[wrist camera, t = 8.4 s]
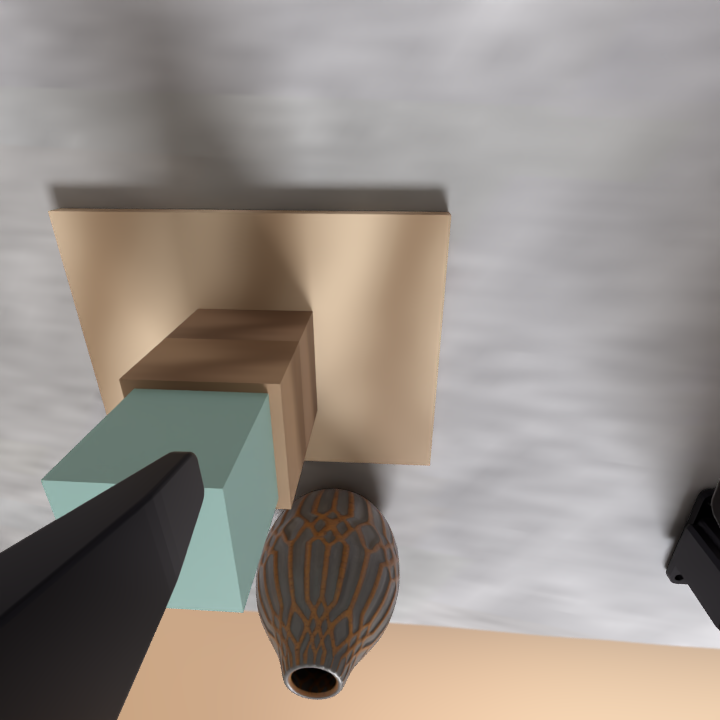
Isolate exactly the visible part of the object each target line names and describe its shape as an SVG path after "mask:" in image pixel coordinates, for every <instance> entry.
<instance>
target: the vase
mask: <svg viewBox="0 0 720 720" xmlns="http://www.w3.org/2000/svg"><path fill="white" fill-rule="evenodd" d="M399 575H400V573H399V558H398V550H397V546H396V542H395V539H394V536H393V533H392V531H391V529H390V526H389V524H388V523H387V521H386V519H385V518H384V516H383V514H382V513H381V512H380V511H379V510H378V509H377V508H376V507H375V506H374V505H373V504H372V503H371V502H370V501H368V500H367V499H365V498H364V497H362V496H360V495H358V494H356V493H353V492H350V491H347V490H342V489H322V490H317V491H314V492H311V493H308V494H306V495H304V496H302V497H300V498H298V499H297V500H295V501H294V502H293V504H292V508H291V509H285V510H284V511H283V512H282V514H281V515H280V516H279V517H278V519H277V520H276V521H275V523H274V525H273V526H272V528H271V529H270V531H269V533H268V536H267V538H266V541H265V544H264V547H263V550H262V554H261V557H260V560H259V563H258V568H257V575H256V598H257V606H258V612H259V616H260V619H261V622H262V624H263V627H264V629H265V631H266V633H267V635H268V638H269V640H270V641H271V644H272V645H273V647H274V649H275V651H276V653H277V655H278V658H279V661H280V665H281V670H282V676H283V680H284V683H285V685H286V687H287V688H288V689H289V690H290V691H292V692H293V693H295V694H296V695H298V696H301V697H304V698H308V699H317V700H318V699H327V698H330V697H333V696H335V695H337V694H338V693H339V692H340V691H341V690H342V688H343V687H344V685H345V683H346V681H347V679H348V676H349V675H350V673H351V671H352V670H353V668H354V667H355V666H356V665H357V664H358V662H359V661H360V660H361V659H362V658H363V657H364V656H365V655H366V654H367V653H368V652H369V651H370V650H371V649H372V647H373V646H374V645H375V644H376V643H377V642H378V640H379V639H380V638H381V636H382V635H383V633H384V631H385V630H386V628H387V626H388V624H389V621H390V619H391V616H392V613H393V610H394V607H395V604H396V600H397V595H398V589H399Z"/></svg>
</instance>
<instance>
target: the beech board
mask: <svg viewBox="0 0 720 720" xmlns="http://www.w3.org/2000/svg"><path fill="white" fill-rule="evenodd" d="M48 213H49V216H50V220H51V223H52V227H53V230H54V234H55V237H56V240H57V244H58V247H59V251H60V254H61V258H62V261H63V265H64V268H65V272H66V275H67V279H68V282H69V286H70V289H71V292H72V296H73V299H74V303H75V306H76V310H77V313H78V317H79V320H80V324H81V327H82V331H83V334H84V338H85V341H86V344H87V348H88V351H89V355H90V358H91V362H92V365H93V369H94V372H95V376H96V379H97V383H98V386H99V390H100V393H101V396H102V400H103V403H104V407H105V410H106V414H107V415H108V414H109V413H110V412H111V411H112V410H113V409H114V408H115V407H116V406H117V405H118V404H119V403H120V402H121V401H122V400H123V399H124V396H123V393H122V389H121V385H120V381H119V379H120V378H121V377H122V376H123V375H124V374H125V373H126V372H128V371H129V370H130V369H131V368H132V367H133V366H134V365H135V364H137V363H138V362H139V361H140V360H141V359H142V358H143V357H144V356H146V355H147V354H148V353H149V352H150V351H151V350H152V349H153V348H154V347H156V346H157V345H158V344H159V343H160V342H161V341H162V340H163V339H165V338H166V337H167V336H168V335H169V334H170V333H171V332H172V331H174V330H175V329H176V328H177V327H178V326H179V325H180V324H181V323H183V322H184V321H185V320H186V319H187V318H188V317H189V316H190V315H191V314H193V313H194V312H195V311H196V310H197V309H237V310H283V311H313V327H314V347H315V368H316V389H317V410H318V411H317V414H316V418H315V422H314V426H313V429H312V433H311V437H310V441H309V444H308V448H307V452H306V456H305V459H304V461H327V462H352V463H378V464H403V465H429V466H430V457H431V446H432V434H433V422H434V410H435V399H436V387H437V375H438V364H439V352H440V340H441V328H442V317H443V305H444V293H445V281H446V270H447V258H448V246H449V234H450V223H451V214H450V213H449V212H398V211H292V210H185V209H79V208H60V209H56V210H51V211H48Z"/></svg>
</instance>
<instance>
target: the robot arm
mask: <svg viewBox="0 0 720 720" xmlns="http://www.w3.org/2000/svg"><path fill="white" fill-rule="evenodd" d="M203 500H204V485H203V480H202V476H201V471H200V467H199V463H198V459H197V456H196V455H195V454H194V453H193V452H184V451H173V452H170V453H168V454H166V455H164V456H163V457H161V458H159V459H158V460H156V461H154V462H152V463H151V464H149V465H147V466H146V467H144V468H142V469H141V470H139V471H137V472H136V473H134V474H132V475H131V476H129V477H127V478H126V479H124V480H122V481H120V482H119V483H117V484H115V485H114V486H112V487H110V488H109V489H107V490H105V491H104V492H102V493H100V494H99V495H97V496H95V497H94V498H92V499H90V500H88V501H87V502H85V503H83V504H82V505H80V506H78V507H77V508H75V509H73V510H72V511H70V512H68V513H67V514H65V515H63V516H62V517H60V518H58V519H56V520H55V521H53V522H51V523H50V524H48V525H46V526H45V527H43V528H41V529H40V530H38V531H36V532H35V533H33V534H31V535H29V536H28V537H26V538H24V539H23V540H21V541H19V542H18V543H16V544H14V545H13V546H11V547H9V548H8V549H6V550H4V551H3V552H1V553H0V720H117V719H118V716H119V714H120V712H121V709H122V707H123V705H124V703H125V700H126V698H127V696H128V693H129V691H130V689H131V686H132V684H133V682H134V680H135V677H136V675H137V673H138V671H139V668H140V666H141V664H142V661H143V659H144V657H145V655H146V652H147V650H148V648H149V646H150V643H151V641H152V638H153V636H154V634H155V632H156V630H157V627H158V625H159V623H160V620H161V618H162V616H163V614H164V611H165V609H166V607H167V604H168V602H169V600H170V598H171V595H172V593H173V590H174V588H175V586H176V583H177V581H178V578H179V575H180V572H181V569H182V566H183V563H184V560H185V557H186V554H187V550H188V547H189V544H190V541H191V538H192V535H193V532H194V528H195V525H196V522H197V519H198V516H199V513H200V510H201V506H202V503H203ZM666 574H667V576H668V578H669V579H670V581H671V582H672V583H676V584H688V585H689V587H690V588H691V590H692V591H693V593H694V594H695V596H696V597H697V599H698V600H699V602H700V603H701V605H702V606H703V608H704V609H705V611H706V612H707V614H708V615H709V617H710V618H711V620H712V621H713V623H714V624H715V626H716V627H717V628H718V629H719V630H720V479H719V482H718V484H717V487H716V489H707V490H704V491H702V492H701V493H700V494H699V495H698V497H697V500H696V502H695V505H694V507H693V509H692V512H691V514H690V516H689V519H688V521H687V523H686V526H685V528H684V530H683V533H682V535H681V537H680V540H679V542H678V544H677V547H676V549H675V551H674V554H673V556H672V558H671V561H670V563H669V566H668V568H667V570H666Z"/></svg>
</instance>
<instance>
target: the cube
mask: <svg viewBox="0 0 720 720" xmlns="http://www.w3.org/2000/svg"><path fill="white" fill-rule="evenodd" d="M173 451H184V452H193V453H194V454H195V455H196V456H197V459H198V463H199V467H200V471H201V476H202V480H203V485H204V500H203V503H202V506H201V510H200V513H199V516H198V519H197V522H196V525H195V528H194V532H193V535H192V538H191V541H190V544H189V547H188V550H187V554H186V557H185V560H184V563H183V566H182V569H181V572H180V575H179V578H178V581H177V583H176V586H175V588H174V590H173V593H172V595H171V598H170V600H169V602H168V604H167V607H166V608H176V609H177V608H178V609H194V610H209V611H225V612H241V613H243V612H244V608H245V605H246V602H247V599H248V596H249V592H250V589H251V586H252V583H253V579H254V576H255V573H256V570H257V567H258V563H259V560H260V557H261V554H262V550H263V547H264V544H265V541H266V537H267V534H268V531H269V528H270V525H271V521H272V518H273V515H274V512H275V508H276V505H277V502H278V499H279V498H278V488H277V478H276V467H275V457H274V446H273V436H272V426H271V415H270V405H269V394H268V393H246V392H218V391H189V390H161V389H133V390H132V391H131V392H130V393H129V394H128V395H127V396H126V397H125V398H124V399H123V400H122V401H121V402H120V403H119V404H118V405H117V406H116V407H115V408H114V409H113V410H112V411H111V412H110V413H109V414H108V415H107V416H106V417H105V418H104V419H103V420H102V421H101V422H100V423H99V424H98V425H97V426H96V427H95V428H94V429H93V430H92V431H90V432H89V433H88V434H87V435H86V436H85V437H84V438H83V439H82V440H81V441H80V442H79V443H78V444H77V445H76V446H75V447H74V448H73V449H72V450H71V451H70V452H69V453H68V454H67V455H66V456H65V457H64V458H63V459H62V460H61V461H60V462H59V463H58V464H57V465H56V466H55V467H54V468H53V469H52V470H51V471H50V472H49V473H48V474H47V475H46V476H45V477H44V478H43V479H42V480H41V482H42V485H43V487H44V490H45V492H46V495H47V498H48V500H49V503H50V505H51V508H52V511H53V513H54V516H55V518H56V519H58V518H60V517H62V516H63V515H65V514H67V513H68V512H70V511H72V510H73V509H75V508H77V507H78V506H80V505H82V504H83V503H85V502H87V501H88V500H90V499H92V498H94V497H95V496H97V495H99V494H100V493H102V492H104V491H105V490H107V489H109V488H110V487H112V486H114V485H115V484H117V483H119V482H120V481H122V480H124V479H126V478H127V477H129V476H131V475H132V474H134V473H136V472H137V471H139V470H141V469H142V468H144V467H146V466H147V465H149V464H151V463H152V462H154V461H156V460H158V459H159V458H161V457H163V456H164V455H166V454H168V453H170V452H173Z"/></svg>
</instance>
